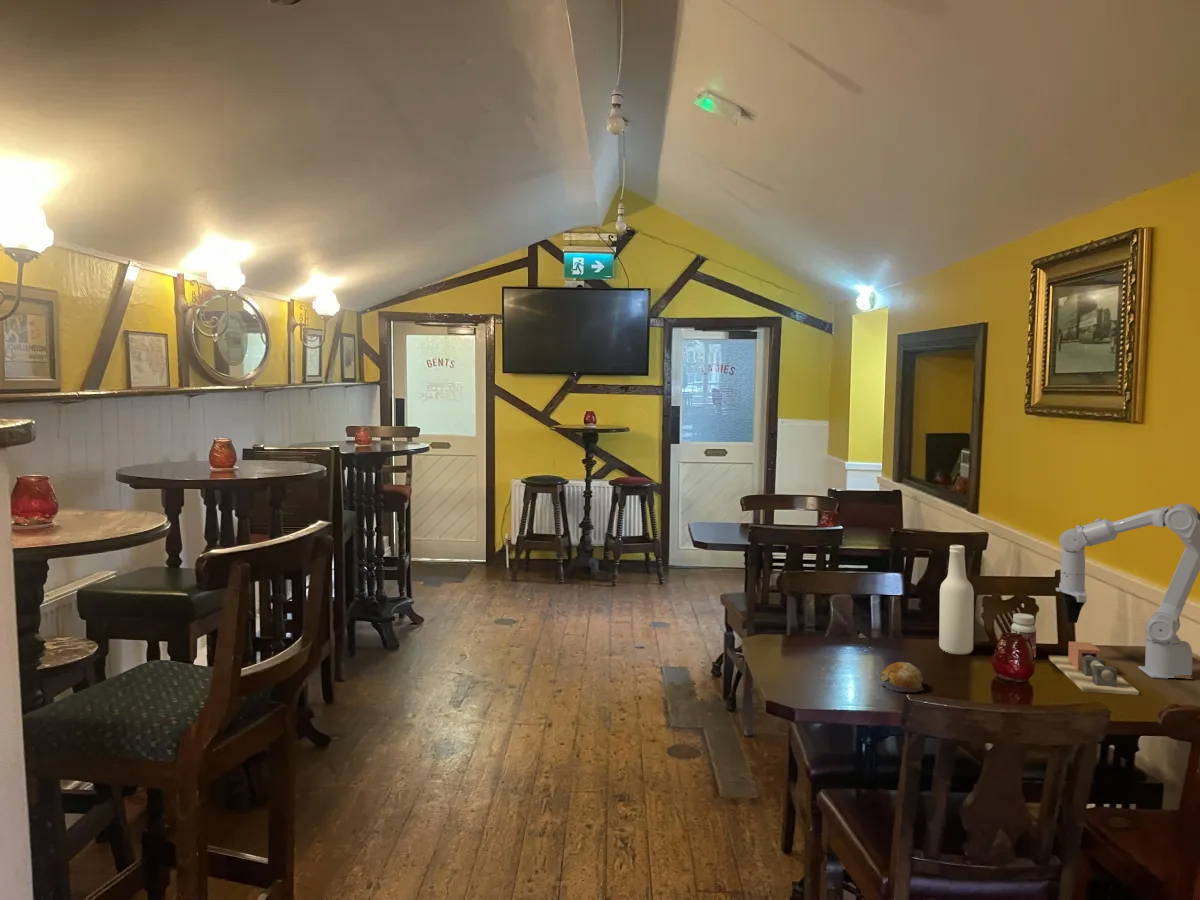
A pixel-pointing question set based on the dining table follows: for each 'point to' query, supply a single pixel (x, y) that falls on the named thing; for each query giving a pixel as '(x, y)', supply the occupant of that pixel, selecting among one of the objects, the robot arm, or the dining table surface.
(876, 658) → the dining table surface
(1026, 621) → the pill bottle
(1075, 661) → the terracotta arch block
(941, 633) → the alcohol
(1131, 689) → the shaft rig
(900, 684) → the bread roll
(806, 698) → the dining table surface
